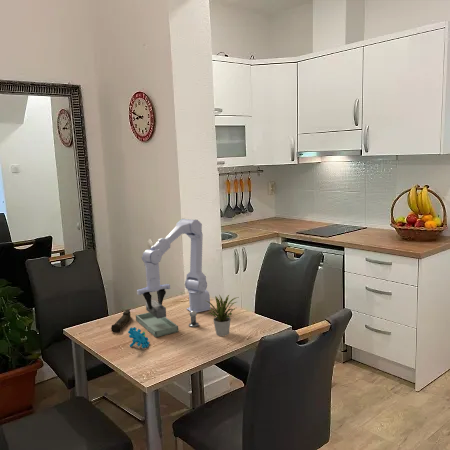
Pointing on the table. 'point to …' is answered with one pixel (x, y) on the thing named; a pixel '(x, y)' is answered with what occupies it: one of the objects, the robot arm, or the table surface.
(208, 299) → the robot arm
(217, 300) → the house plant
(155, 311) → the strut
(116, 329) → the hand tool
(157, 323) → the bin tray
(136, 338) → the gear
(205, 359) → the table surface
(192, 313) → the stud post
